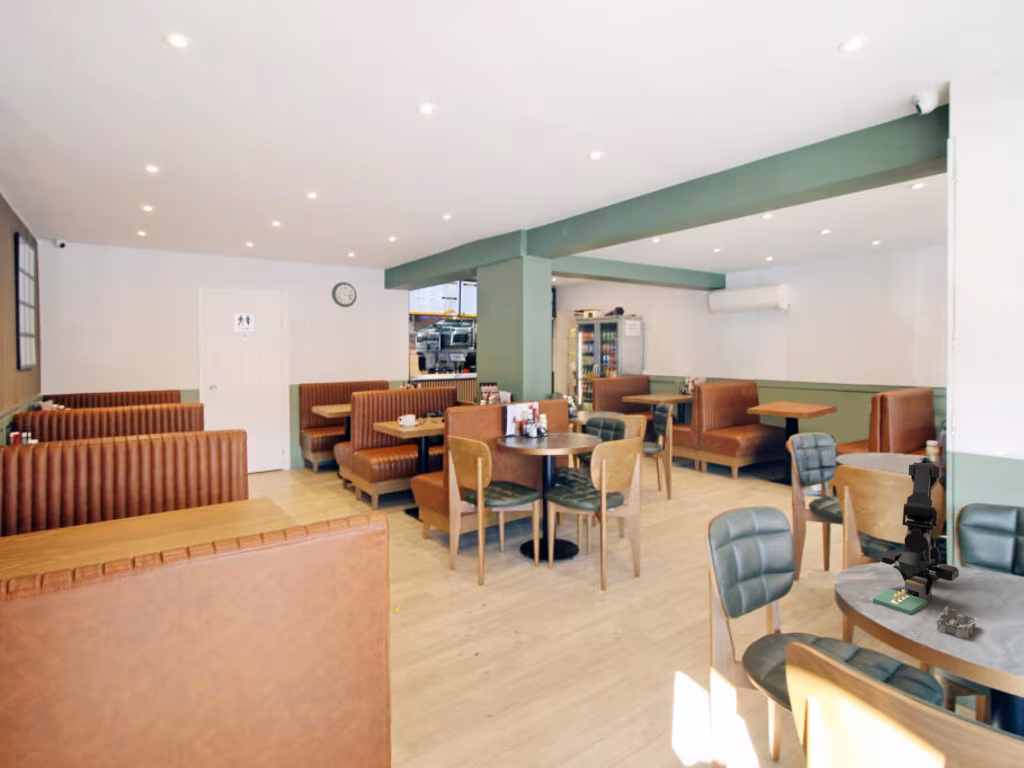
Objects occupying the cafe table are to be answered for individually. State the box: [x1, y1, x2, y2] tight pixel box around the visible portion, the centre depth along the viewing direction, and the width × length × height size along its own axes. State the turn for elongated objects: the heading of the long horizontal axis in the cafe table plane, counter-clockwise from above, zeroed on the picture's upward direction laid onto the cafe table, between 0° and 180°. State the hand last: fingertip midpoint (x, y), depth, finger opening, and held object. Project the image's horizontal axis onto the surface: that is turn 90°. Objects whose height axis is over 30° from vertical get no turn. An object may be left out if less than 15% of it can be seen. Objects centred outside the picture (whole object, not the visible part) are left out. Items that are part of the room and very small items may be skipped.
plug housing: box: [904, 576, 933, 600], centre depth 170 cm, size 7×5×5 cm, turn 123°
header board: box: [872, 588, 928, 615], centre depth 166 cm, size 11×10×3 cm
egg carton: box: [935, 605, 979, 639], centre depth 151 cm, size 11×8×4 cm
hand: (918, 592), depth 170 cm, fingers closed on plug housing, 5 cm apart
